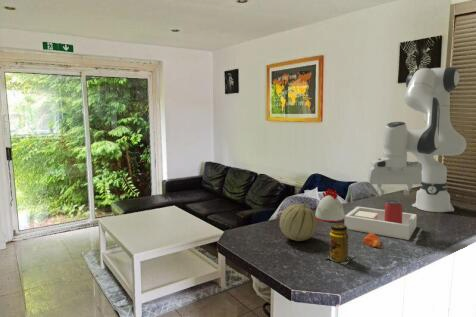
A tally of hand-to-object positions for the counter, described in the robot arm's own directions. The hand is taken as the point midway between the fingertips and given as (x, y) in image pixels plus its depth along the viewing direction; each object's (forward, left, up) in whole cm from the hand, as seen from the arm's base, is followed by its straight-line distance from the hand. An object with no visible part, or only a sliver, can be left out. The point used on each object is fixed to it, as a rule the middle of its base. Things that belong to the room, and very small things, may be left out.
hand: (394, 194), depth 137 cm
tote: (0, -5, -16) cm, 17 cm away
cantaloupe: (+29, -30, -16) cm, 45 cm away
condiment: (+37, -10, -16) cm, 42 cm away
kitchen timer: (-3, -29, -16) cm, 33 cm away
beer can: (0, 0, -15) cm, 15 cm away
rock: (+19, -3, -17) cm, 25 cm away
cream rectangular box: (0, -11, -15) cm, 19 cm away
